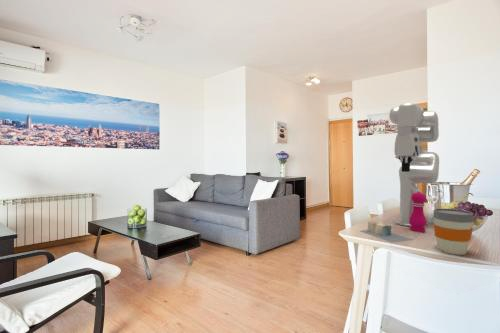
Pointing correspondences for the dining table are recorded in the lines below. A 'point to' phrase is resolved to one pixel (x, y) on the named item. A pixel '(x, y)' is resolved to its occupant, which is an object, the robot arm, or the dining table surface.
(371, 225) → the beech block
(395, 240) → the slate mat
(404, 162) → the robot arm
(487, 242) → the dining table surface
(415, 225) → the pepper mill
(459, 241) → the reusable coffee cup
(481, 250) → the dining table surface
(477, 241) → the dining table surface
